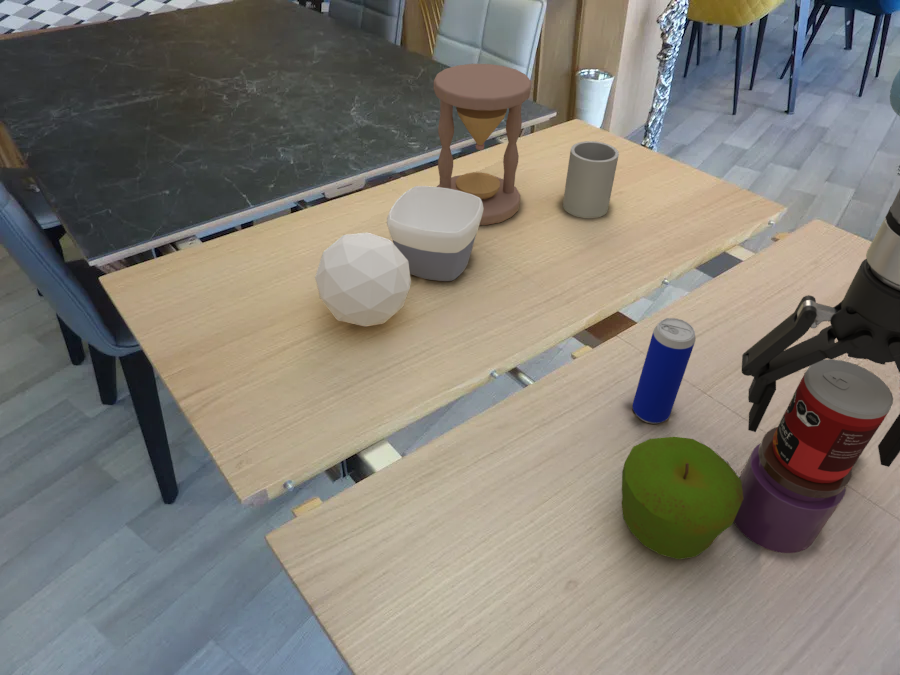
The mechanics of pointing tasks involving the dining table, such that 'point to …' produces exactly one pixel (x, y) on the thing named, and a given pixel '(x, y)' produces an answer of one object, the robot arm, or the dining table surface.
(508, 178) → the hourglass
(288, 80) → the dining table surface
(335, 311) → the geometric shape
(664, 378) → the beverage can
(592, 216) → the cup
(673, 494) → the apple
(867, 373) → the canned food
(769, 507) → the jar
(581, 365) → the dining table surface
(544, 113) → the dining table surface
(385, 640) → the dining table surface
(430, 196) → the bowl
